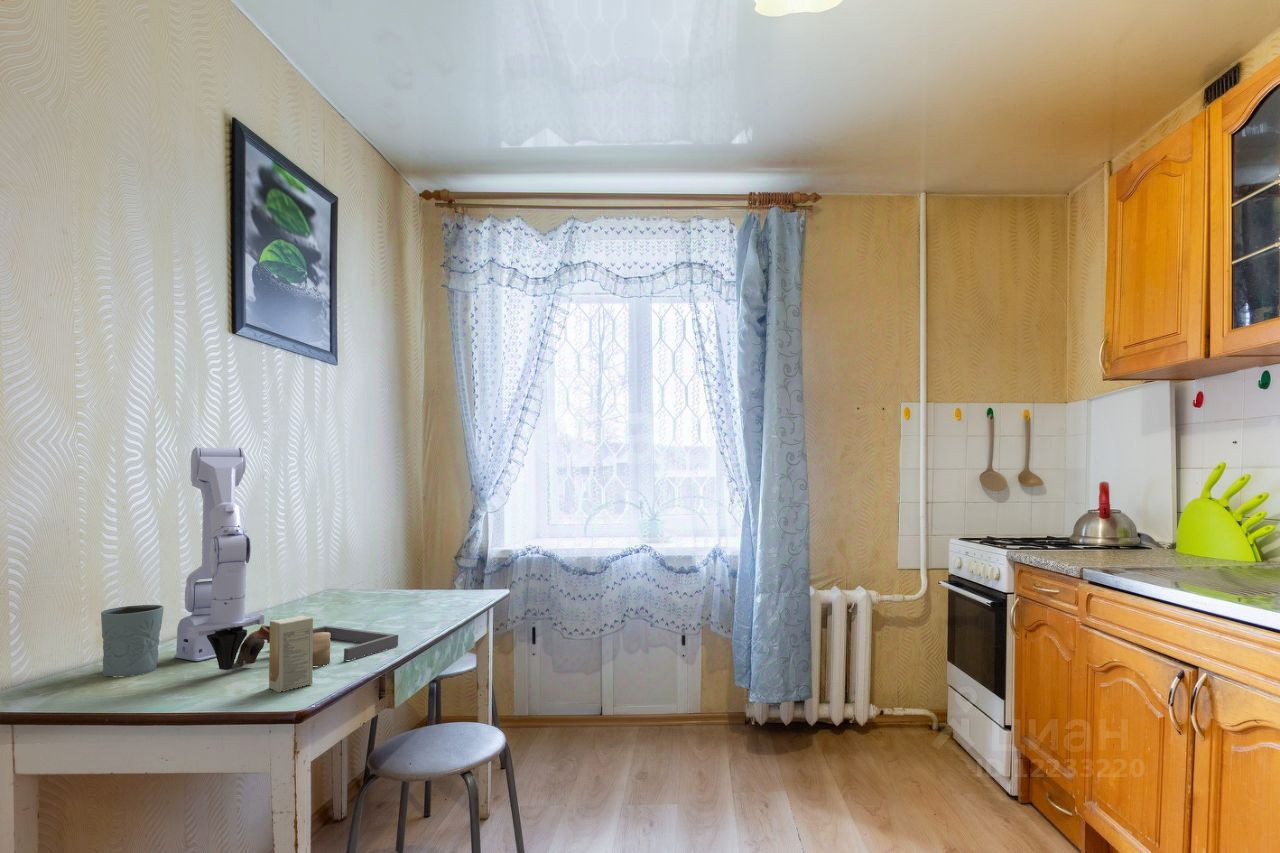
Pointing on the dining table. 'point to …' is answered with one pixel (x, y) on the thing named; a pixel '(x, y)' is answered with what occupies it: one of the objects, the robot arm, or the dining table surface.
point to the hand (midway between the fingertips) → (225, 668)
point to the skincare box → (290, 653)
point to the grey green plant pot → (131, 639)
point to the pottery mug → (253, 645)
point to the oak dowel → (321, 648)
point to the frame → (360, 640)
